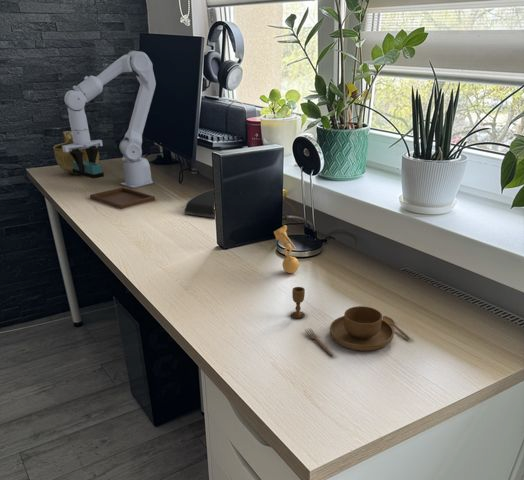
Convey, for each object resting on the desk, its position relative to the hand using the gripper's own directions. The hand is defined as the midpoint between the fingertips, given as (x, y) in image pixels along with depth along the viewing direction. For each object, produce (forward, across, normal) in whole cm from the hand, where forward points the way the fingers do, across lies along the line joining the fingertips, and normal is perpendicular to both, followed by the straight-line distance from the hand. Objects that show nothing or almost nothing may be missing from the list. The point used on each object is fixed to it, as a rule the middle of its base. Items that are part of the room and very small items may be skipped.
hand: (87, 170), depth 185 cm
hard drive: (+7, +14, -51) cm, 54 cm away
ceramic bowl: (+7, +11, +26) cm, 29 cm away
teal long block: (+2, 0, 0) cm, 2 cm away
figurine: (+7, -10, -102) cm, 103 cm away
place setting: (+7, -22, -128) cm, 130 cm away
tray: (+7, 0, -20) cm, 21 cm away
